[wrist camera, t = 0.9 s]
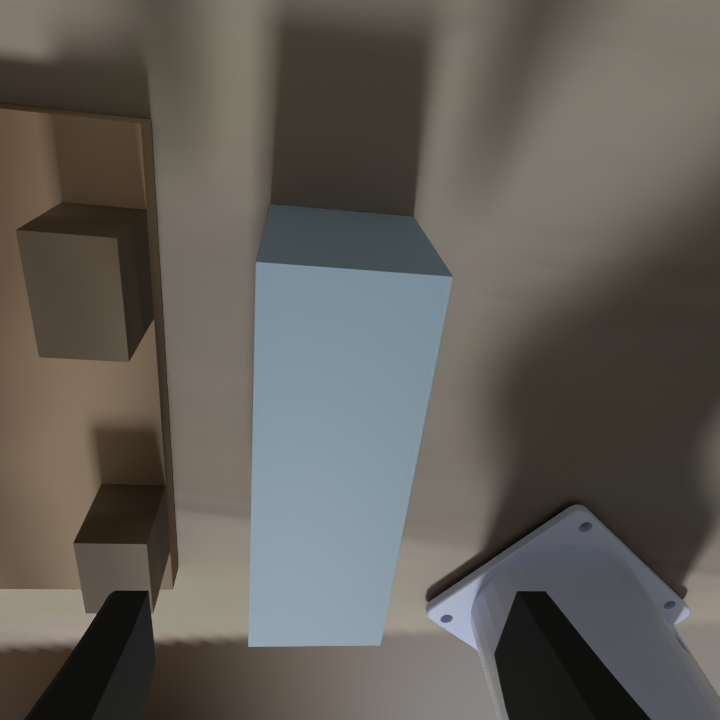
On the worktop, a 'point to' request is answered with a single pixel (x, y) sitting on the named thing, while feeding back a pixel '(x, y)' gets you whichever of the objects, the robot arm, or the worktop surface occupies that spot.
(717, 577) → the worktop surface
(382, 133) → the worktop surface
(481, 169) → the worktop surface
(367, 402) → the pale blue rectangular prism
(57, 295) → the cradle jig
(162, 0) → the worktop surface
